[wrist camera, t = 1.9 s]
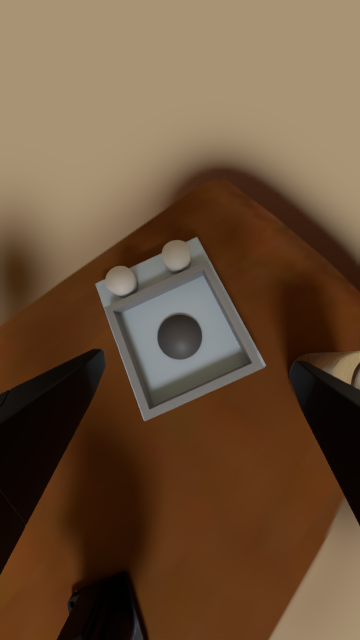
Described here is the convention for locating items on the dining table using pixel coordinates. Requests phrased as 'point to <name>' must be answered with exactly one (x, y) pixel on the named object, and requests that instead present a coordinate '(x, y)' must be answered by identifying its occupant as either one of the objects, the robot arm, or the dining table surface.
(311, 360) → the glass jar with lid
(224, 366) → the square tray with knobs
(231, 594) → the dining table surface
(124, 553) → the dining table surface
